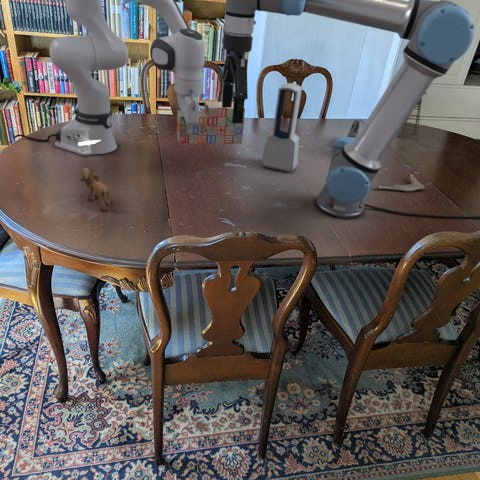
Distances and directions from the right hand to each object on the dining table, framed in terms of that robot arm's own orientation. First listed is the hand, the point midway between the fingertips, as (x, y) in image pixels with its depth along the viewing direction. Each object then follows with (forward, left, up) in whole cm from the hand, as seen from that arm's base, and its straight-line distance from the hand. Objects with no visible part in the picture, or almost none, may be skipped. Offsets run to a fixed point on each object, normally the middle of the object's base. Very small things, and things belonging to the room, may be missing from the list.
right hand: (231, 114), depth 132 cm
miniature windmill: (-94, -70, -29) cm, 121 cm away
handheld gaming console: (-58, -49, -29) cm, 81 cm away
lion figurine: (+39, 0, -29) cm, 48 cm away
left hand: (+11, -21, -12) cm, 27 cm away
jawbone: (-66, -17, -29) cm, 74 cm away
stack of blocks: (+4, -22, -16) cm, 28 cm away
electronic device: (-24, -29, -29) cm, 47 cm away
